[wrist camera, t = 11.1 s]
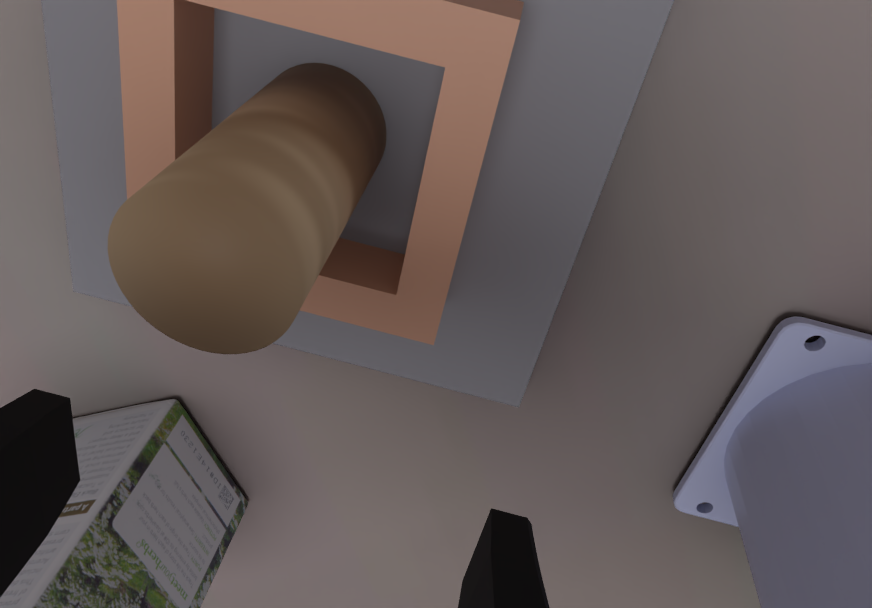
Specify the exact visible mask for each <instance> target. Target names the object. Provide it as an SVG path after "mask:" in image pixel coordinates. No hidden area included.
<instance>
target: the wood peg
mask: <svg viewBox="0 0 872 608" xmlns="http://www.w3.org/2000/svg"><path fill="white" fill-rule="evenodd" d="M385 147H386V124H385V120H384V116H383V113H382V110H381V108H380V105H379V104H378V102H377V100H376V98H375V97H374V95H373V94H372V93H371V91H370V90H369V89H368V88H367V87H366V86H365V85H364V84H363V83H362V82H361V81H360V80H359V79H358V78H356V77H355V76H353V75H352V74H350V73H349V72H347V71H345V70H343V69H341V68H338V67H335V66H333V65H328V64H324V63H305V64H300V65H296V66H294V67H291V68H289V69H287V70H285V71H284V72H282V73H281V74H280V75H278V76H277V77H276V78H275V79H273V80H272V81H271V82H270V83H269V84H267V85H266V86H265V87H264V88H262V89H261V90H260V91H259V92H258V93H256V94H255V95H254V96H253V97H251V98H250V99H249V100H248V101H247V102H245V103H244V104H243V105H242V106H241V107H239V108H238V109H237V110H236V111H234V112H233V113H232V114H231V115H230V116H228V117H227V118H226V119H225V120H223V121H222V122H221V123H220V124H219V125H217V126H216V127H215V128H214V129H213V130H211V131H210V132H209V133H208V134H206V135H205V136H204V137H203V138H202V139H200V140H199V141H198V142H197V143H196V144H194V145H193V146H192V147H191V148H189V149H188V150H187V151H186V152H185V153H183V154H182V155H181V156H180V157H178V158H177V159H176V160H175V161H174V162H172V163H171V164H170V165H169V166H168V167H166V168H165V169H164V170H163V171H161V172H160V173H159V174H158V175H157V176H155V177H154V178H153V179H152V180H150V181H149V182H148V183H147V184H146V185H144V186H143V187H142V188H141V189H140V190H138V191H137V192H136V193H135V194H133V195H132V196H131V197H130V198H129V199H127V200H126V201H125V202H124V203H123V205H122V206H121V207H120V208H119V209H118V211H117V213H116V214H115V216H114V218H113V220H112V223H111V225H110V229H109V234H108V256H109V262H110V266H111V269H112V272H113V275H114V277H115V280H116V282H117V284H118V286H119V288H120V289H121V291H122V293H123V294H124V296H125V297H126V299H127V300H128V302H129V303H130V304H131V305H132V306H133V308H134V309H135V310H136V311H137V312H138V313H139V314H140V315H141V316H142V317H143V318H144V319H145V320H146V321H147V322H149V323H150V324H151V325H152V326H154V327H155V328H156V329H158V330H159V331H161V332H162V333H164V334H165V335H167V336H168V337H170V338H172V339H174V340H176V341H178V342H180V343H182V344H185V345H187V346H189V347H192V348H196V349H199V350H202V351H207V352H211V353H219V354H241V353H248V352H252V351H256V350H259V349H261V348H264V347H266V346H268V345H270V344H272V343H273V342H275V341H276V340H278V339H279V338H280V337H281V336H283V334H284V333H285V332H286V331H287V330H288V329H289V327H290V326H291V324H292V323H293V321H294V319H295V318H296V316H297V314H298V312H299V310H300V308H301V307H302V305H303V303H304V301H305V299H306V297H307V296H308V294H309V292H310V290H311V288H312V286H313V284H314V283H315V281H316V279H317V277H318V275H319V273H320V272H321V270H322V268H323V266H324V264H325V262H326V261H327V259H328V257H329V255H330V253H331V251H332V250H333V248H334V246H335V244H336V242H337V240H338V239H339V237H340V235H341V233H342V231H343V229H344V228H345V226H346V224H347V222H348V220H349V218H350V217H351V215H352V213H353V211H354V209H355V207H356V206H357V204H358V202H359V200H360V198H361V196H362V194H363V193H364V191H365V189H366V187H367V185H368V183H369V182H370V180H371V178H372V176H373V174H374V172H375V171H376V169H377V167H378V165H379V163H380V161H381V159H382V157H383V154H384V151H385Z"/></svg>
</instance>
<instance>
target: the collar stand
mask: <svg viewBox="0 0 872 608" xmlns="http://www.w3.org/2000/svg"><path fill="white" fill-rule="evenodd" d="M673 2H674V0H41V3H42V12H43V21H44V30H45V39H46V48H47V57H48V66H49V75H50V84H51V93H52V102H53V111H54V120H55V129H56V138H57V147H58V156H59V166H60V175H61V184H62V193H63V202H64V211H65V220H66V229H67V238H68V247H69V256H70V265H71V274H72V283H73V291H74V292H78V293H82V294H85V295H89V296H93V297H97V298H101V299H105V300H108V301H112V302H116V303H120V304H124V305H128V306H131V307H133V306H132V305H131V304H130V303H129V302H128V300H127V299H126V297H125V296H124V294H123V293H122V291H121V289H120V288H119V286H118V284H117V282H116V280H115V277H114V275H113V272H112V269H111V266H110V262H109V256H108V234H109V229H110V225H111V223H112V220H113V218H114V216H115V214H116V213H117V211H118V209H119V208H120V207H121V206H122V205H123V203H124V202H125V201H126V200H127V199H129V198H130V197H131V196H132V195H133V194H135V193H136V192H137V191H138V190H140V189H141V188H142V187H143V186H144V185H146V184H147V183H148V182H149V181H150V180H152V179H153V178H154V177H155V176H157V175H158V174H159V173H160V172H161V171H163V170H164V169H165V168H166V167H168V166H169V165H170V164H171V163H172V162H174V161H175V160H176V159H177V158H178V157H180V156H181V155H182V154H183V153H185V152H186V151H187V150H188V149H189V148H191V147H192V146H193V145H194V144H196V143H197V142H198V141H199V140H200V139H202V138H203V137H204V136H205V135H206V134H208V133H209V132H210V131H211V130H213V129H214V128H215V127H216V126H217V125H219V124H220V123H221V122H222V121H223V120H225V119H226V118H227V117H228V116H230V115H231V114H232V113H233V112H234V111H236V110H237V109H238V108H239V107H241V106H242V105H243V104H244V103H245V102H247V101H248V100H249V99H250V98H251V97H253V96H254V95H255V94H256V93H258V92H259V91H260V90H261V89H262V88H264V87H265V86H266V85H267V84H269V83H270V82H271V81H272V80H273V79H275V78H276V77H277V76H278V75H280V74H281V73H282V72H284V71H285V70H287V69H289V68H291V67H294V66H296V65H300V64H305V63H324V64H328V65H333V66H335V67H338V68H341V69H343V70H345V71H347V72H349V73H350V74H352V75H353V76H355V77H356V78H358V79H359V80H360V81H361V82H362V83H363V84H364V85H365V86H366V87H367V88H368V89H369V90H370V91H371V93H372V94H373V95H374V97H375V98H376V100H377V102H378V104H379V105H380V108H381V110H382V113H383V116H384V120H385V124H386V147H385V151H384V154H383V157H382V159H381V161H380V163H379V165H378V167H377V169H376V171H375V172H374V174H373V176H372V178H371V180H370V182H369V183H368V185H367V187H366V189H365V191H364V193H363V194H362V196H361V198H360V200H359V202H358V204H357V206H356V207H355V209H354V211H353V213H352V215H351V217H350V218H349V220H348V222H347V224H346V226H345V228H344V229H343V231H342V233H341V235H340V237H339V239H338V240H337V242H336V244H335V246H334V248H333V250H332V251H331V253H330V255H329V257H328V259H327V261H326V262H325V264H324V266H323V268H322V270H321V272H320V273H319V275H318V277H317V279H316V281H315V283H314V284H313V286H312V288H311V290H310V292H309V294H308V296H307V297H306V299H305V301H304V303H303V305H302V307H301V308H300V310H299V312H298V314H297V316H296V318H295V319H294V321H293V323H292V324H291V326H290V327H289V329H288V330H287V331H286V332H285V333H284V334H283V336H281V337H280V338H279V339H278V340H276V341H275V342H273V344H277V345H281V346H285V347H289V348H293V349H296V350H300V351H304V352H308V353H312V354H316V355H319V356H323V357H327V358H331V359H335V360H339V361H342V362H346V363H350V364H354V365H358V366H362V367H366V368H369V369H373V370H377V371H381V372H385V373H389V374H392V375H396V376H400V377H404V378H408V379H412V380H415V381H419V382H423V383H427V384H431V385H435V386H438V387H442V388H446V389H450V390H454V391H458V392H461V393H465V394H469V395H473V396H477V397H481V398H484V399H488V400H492V401H496V402H500V403H504V404H507V405H511V406H515V407H519V406H520V403H521V400H522V398H523V395H524V392H525V390H526V387H527V385H528V382H529V379H530V377H531V374H532V371H533V369H534V366H535V364H536V361H537V358H538V356H539V353H540V351H541V348H542V345H543V343H544V340H545V337H546V335H547V332H548V330H549V327H550V324H551V322H552V319H553V316H554V314H555V311H556V309H557V306H558V303H559V301H560V298H561V295H562V293H563V290H564V288H565V285H566V282H567V280H568V277H569V275H570V272H571V269H572V267H573V264H574V261H575V259H576V256H577V254H578V251H579V248H580V246H581V243H582V240H583V238H584V235H585V233H586V230H587V227H588V225H589V222H590V220H591V217H592V214H593V212H594V209H595V206H596V204H597V201H598V199H599V196H600V193H601V191H602V188H603V185H604V183H605V180H606V178H607V175H608V172H609V170H610V167H611V164H612V162H613V159H614V157H615V154H616V151H617V149H618V146H619V144H620V141H621V138H622V136H623V133H624V130H625V128H626V125H627V123H628V120H629V117H630V115H631V112H632V109H633V107H634V104H635V102H636V99H637V96H638V94H639V91H640V88H641V86H642V83H643V81H644V78H645V75H646V73H647V70H648V68H649V65H650V62H651V60H652V57H653V54H654V52H655V49H656V47H657V44H658V41H659V39H660V36H661V33H662V31H663V28H664V26H665V23H666V20H667V18H668V15H669V13H670V10H671V7H672V5H673Z"/></svg>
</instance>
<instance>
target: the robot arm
mask: <svg viewBox="0 0 872 608" xmlns="http://www.w3.org/2000/svg"><path fill="white" fill-rule="evenodd" d="M812 336H820V338H819V339H818V340H816V341H814V342H811V343H805V341H806V340H807V339H808V338H809V337H812ZM79 481H80V474H79V466H78V459H77V451H76V443H75V435H74V427H73V419H72V411H71V404H70V398H67V397H64V396H60V395H56V394H52V393H48V392H44V391H41V390H37V389H33V390H32V391H30V392H28V393H26V394H24V395H23V396H21V397H19V398H17V399H16V400H14V401H12V402H10V403H8V404H7V405H5V406H3V407H2V408H0V597H1V596H2V595H3V593H4V592H5V591H6V589H7V588H8V587H9V586H10V584H11V583H12V582H13V580H14V579H15V578H16V576H17V575H18V574H19V573H20V571H21V570H22V569H23V567H24V566H25V565H26V563H27V562H28V561H29V559H30V558H31V557H32V555H33V554H34V553H35V552H36V550H37V549H38V548H39V546H40V545H41V543H42V542H43V541H44V539H45V538H46V537H47V535H48V534H49V532H50V530H51V529H52V527H53V526H54V524H55V522H56V521H57V519H58V517H59V516H60V514H61V513H62V511H63V509H64V507H65V506H66V504H67V502H68V501H69V499H70V497H71V495H72V494H73V492H74V490H75V488H76V487H77V485H78V483H79ZM673 501H674V505H675V507H676V508H677V509H678V510H679V511H681V512H684V513H688V514H691V515H695V516H699V517H703V518H707V519H711V520H714V521H718V522H722V523H726V524H730V525H734V526H737V527H739V529H740V533H741V536H742V540H743V544H744V547H745V551H746V554H747V558H748V562H749V565H750V569H751V572H752V576H753V580H754V583H755V587H756V591H757V594H758V598H759V601H760V605H761V608H872V335H870V334H866V333H862V332H858V331H854V330H850V329H847V328H843V327H839V326H835V325H831V324H827V323H823V322H820V321H816V320H812V319H808V318H804V317H796V316H794V317H790V318H786V319H784V320H783V321H781V322H780V323H779V324H778V325H777V326H776V327H775V329H774V330H773V332H772V334H771V335H770V337H769V338H768V340H767V342H766V343H765V345H764V347H763V348H762V350H761V351H760V353H759V355H758V356H757V358H756V360H755V361H754V363H753V364H752V366H751V368H750V369H749V371H748V372H747V374H746V376H745V377H744V379H743V381H742V382H741V384H740V385H739V387H738V389H737V390H736V392H735V394H734V395H733V397H732V398H731V400H730V402H729V403H728V405H727V407H726V408H725V410H724V411H723V413H722V415H721V416H720V418H719V419H718V421H717V423H716V424H715V426H714V428H713V429H712V431H711V432H710V434H709V436H708V437H707V439H706V441H705V442H704V444H703V445H702V447H701V449H700V450H699V452H698V453H697V455H696V457H695V458H694V460H693V462H692V463H691V465H690V466H689V468H688V470H687V471H686V473H685V475H684V476H683V478H682V479H681V481H680V483H679V484H678V486H677V488H676V489H675V491H674V493H673ZM703 502H707V503H705V504H700V503H703ZM458 608H549V604H548V600H547V596H546V592H545V588H544V584H543V580H542V576H541V572H540V567H539V563H538V558H537V553H536V548H535V543H534V537H533V531H532V525H531V523H530V521H529V520H528V518H526V517H522V516H518V515H514V514H510V513H507V512H503V511H499V510H495V509H491V510H490V513H489V516H488V518H487V521H486V523H485V526H484V528H483V531H482V533H481V536H480V538H479V541H478V543H477V546H476V548H475V551H474V553H473V556H472V558H471V561H470V563H469V566H468V568H467V571H466V574H465V576H464V579H463V582H462V588H461V593H460V599H459V605H458Z"/></svg>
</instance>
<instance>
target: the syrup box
mask: <svg viewBox="0 0 872 608" xmlns="http://www.w3.org/2000/svg"><path fill="white" fill-rule="evenodd" d="M73 427H74V435H75V443H76V451H77V459H78V466H79V474H80V481H79V483H78V485H77V487H76V488H75V490H74V492H73V494H72V495H71V497H70V499H69V501H68V502H67V504H66V506H65V507H64V509H63V511H62V513H61V514H60V516H59V517H58V519H57V521H56V522H55V524H54V526H53V527H52V529H51V530H50V532H49V534H48V535H47V537H46V538H45V539H44V541H43V542H42V543H41V545H40V546H39V548H38V549H37V550H36V552H35V553H34V554H33V555H32V557H31V558H30V559H29V561H28V562H27V563H26V565H25V566H24V567H23V569H22V570H21V571H20V573H19V574H18V575H17V576H16V578H15V579H14V580H13V582H12V583H11V584H10V586H9V587H8V588H7V589H6V591H5V592H4V593H3V595H2V596H1V597H0V608H200V607H201V604H202V602H203V600H204V598H205V596H206V594H207V592H208V589H209V587H210V585H211V583H212V581H213V579H214V577H215V575H216V573H217V570H218V568H219V566H220V564H221V561H222V559H223V557H224V555H225V553H226V550H227V548H228V546H229V543H230V542H231V540H232V538H233V536H234V534H235V532H236V529H237V527H238V525H239V523H240V521H241V518H242V516H243V514H244V512H245V510H246V507H247V505H248V502H247V500H246V499H245V497H244V496H243V495H242V493H241V491H240V490H239V488H238V487H237V486H236V484H235V483H234V482H233V480H232V479H231V477H230V475H229V474H228V473H227V471H226V470H225V469H224V467H223V465H222V464H221V462H220V461H219V460H218V458H217V457H216V455H215V454H214V452H213V451H212V449H211V447H210V446H209V445H208V443H207V442H206V441H205V439H204V438H203V436H202V435H201V433H200V432H199V430H198V429H197V427H196V426H195V424H194V423H193V421H192V420H191V418H190V417H189V415H188V413H187V412H186V411H185V410H184V408H183V407H182V406H181V404H180V403H179V401H178V400H176V399H169V400H163V401H156V402H151V403H145V404H140V405H134V406H130V407H125V408H120V409H116V410H111V411H106V412H101V413H97V414H92V415H88V416H83V417H78V418H74V419H73Z"/></svg>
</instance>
